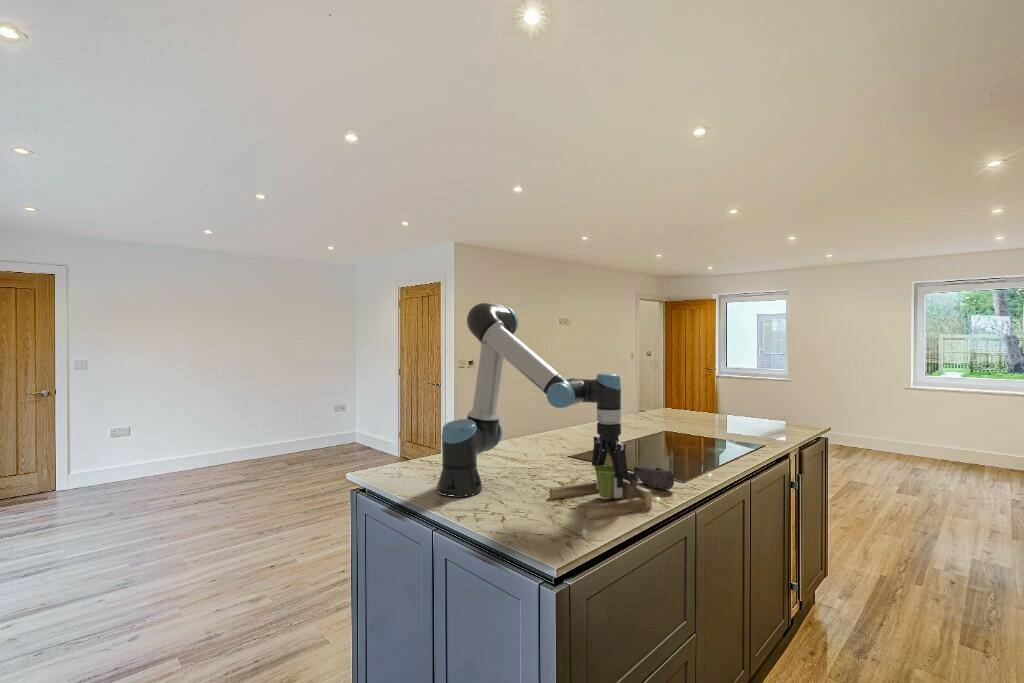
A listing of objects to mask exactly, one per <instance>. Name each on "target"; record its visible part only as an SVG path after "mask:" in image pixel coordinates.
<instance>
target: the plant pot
mask: <svg viewBox="0 0 1024 683" xmlns="http://www.w3.org/2000/svg"><path fill="white" fill-rule="evenodd" d="M593 470H594V471H595V475H596V474H597V478H596V480H597V479H598V487H599V492H598V494H599V496H600V497H601V498H604V499H610V498H611V499H615V498H614V476H616V475H615V471H614V467H613V464H612V465H610V464H609V465H608V464H604V465H600V466H596V467H595V466H594V469H593Z"/></svg>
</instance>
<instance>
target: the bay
mask: <svg viewBox="0 0 1024 683" xmlns="http://www.w3.org/2000/svg"><path fill="white" fill-rule="evenodd" d="M633 468H634V469H633V471H632V472H631V471H628V476H624V477H623V487H622V497H621V498H623V497H624V498H623V499H622V500H617V501H611V502H606V503H605V502H604V503H600V504H594V505H590V506H584V518H585V519H586V518H587V519H586V520H588V519H590V520H595V519H599V518H605V517H610V516H609V515H611V516H615V514H616V515H620V513H621V514H624V512H626V513H630V512H629V511H631V512H634V511H633V510H636V511H639V510H638V509H641V510H644V509H643V508H646V509H648V508H647V507H651V508H653V507H652V506H653V504H652V499H653V498H652V497H653V496H652V492H653V491H652V490H650V489H648V488H645V487H642V486H641V485H639V484H638V481H639V477H638V471H640V472H643V468H642V467H641V466H637V465H636V466H635V465H634V467H633ZM597 491H599V490H597V480H592V481H587V482H581V483H575V484H569V485H562V486H556V487H555V486H554V487H550V488H549V498H551V499H552V500H557V499H562V498H569V497H574V496H575V497H576V496H580V495H581V496H582V495H587V494H592V492H593V493H598V492H597ZM625 498H626V499H625ZM604 516H605V517H604ZM594 518H595V519H594Z"/></svg>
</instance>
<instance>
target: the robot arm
mask: <svg viewBox="0 0 1024 683" xmlns="http://www.w3.org/2000/svg"><path fill="white" fill-rule="evenodd" d="M518 320H519V318H518V316H517V314H516V313H515V311H514V310H513V309H512V308H511V307H509V306H506V305H504V304H503V305H502V304H497V303H495V304H494V303H489V302H483V303H478V304H476V305H475V304H474V306H473V307H472V308H471V309H470V310H469V312H468V314H467V317H466V324H467V328H468V330H469V332H470V333H471V334H472V335H473V336H474V337H475V338H476V339H477V340H478V342H479V344H481V346H480V354H479V360H478V367H477V374H476V376H477V377H476V383H475V390H474V396H473V403H472V409H471V410H469V411H468V412H467V416H466V418H463V419H454V420H451V421H448V422H446V423H445V424H444V425H443V426H442V432H441V433H442V434H441V445H442V446H441V447H442V451H441V454H442V457H441V458H442V468H441V472H440V476H439V478H438V482H437V490H438V491H439V492H440V493H442V494H446V495H454V496H465V495H472V494H476V493H478V494H480V493H481V492H482V491H483V482H482V480H481V476H480V474H479V469H478V467H477V466H478V464H477V463H478V461H477V459H478V458H477V455H479V454H481V453H484V452H488V451H490V450H492V449H494V448H495V447H497V445H498V444H500V442H501V440H502V436H503V427H502V426H501V424H500V423H501V422H500V416H499V414H498V413H497V406H498V398H499V394H500V386H501V378H502V370H503V364H504V359H505V360H506V361H507V362H509V364H510V365H512V366H513V367H514V368H515V369H516V370H517V371H518V372H520V373H521V374H522V376H525V377H526V379H528V380H529V381H530V382H531V383H533V384H534V385H535V387H537V388H538V389H539V390H540V391H541V392H542V393H543V394H545V395H546V398H547V399H546V400H547V401H548V403H549V404H550V405H551V406H552V407H554V408H557V409H563V408H565V409H566V408H568V407H570V406H573V405H576V404H578V403H592V404H595V403H596V421H597V423H596V433H597V435H598V436H593V450H592V460H591V466H593V467H594V468H595V467H596V466H600V465H605V463H606V459H607V456H610V458H611V459H610V460H611V463H612V466H613V467H614V471H615V475H616V476H614V498H613V499H620V498H623V497H622V487H623V480H624V479H623V477H624V476H628V472H629V470H628V463H627V455H626V443H625V442H624V443H622V442H620V440H619V436H620V435H622V424H621V421H622V417H621V416H622V414H621V413H622V412H621V410H622V407H621V406H622V405H621V404H622V403H621V401H622V399H621V398H622V395H621V394H622V386H621V376H620V375H619V374H618V373H609V372H608V373H605V372H604V373H603V372H602V373H597V375H596V377H595V379H588V378H587V379H586V378H585V379H583V378H564V377H563V376H562V375H561V374H560V373H559V372H558V371H556V370H555V369H554V368H553V367H552V366H550V365H549V364H548V363H547V362H546V361H544V359H543V358H541V357H540V356H539V355H537V354H536V353H535V352H534V351H533V350H531V349H530V348H529V346H527V345H525V344H524V343H523V342H522V341H521V340H520V339H518V338H517V337H516V336H515V335H514V334H515V332H517V329H518V327H519V326H518V325H519V321H518ZM595 478H596V481H597V490H599V487H598V479H597V474H596V473H595ZM481 490H482V491H481ZM438 491H437V492H438ZM480 491H481V492H480ZM479 492H480V493H479ZM476 495H477V494H476ZM472 496H473V495H472Z"/></svg>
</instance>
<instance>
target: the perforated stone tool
mask: <svg viewBox="0 0 1024 683" xmlns="http://www.w3.org/2000/svg"><path fill="white" fill-rule="evenodd" d="M641 468H643V472H640V471H638V480H639V481H640V482H641V483H642V484H644V485H647V486H648V485H649V486H648V487H650V486H651V487H650V488H653V487H654V488H653V489H659V490H661V491H666V490H667V489H668V490H671V489H672V488H673V487H674V484H675V481H674V480H675V479H674V473H672V471H669V470H667V469H664V468H659V467H655V466H643V467H641ZM665 489H666V490H665Z"/></svg>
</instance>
